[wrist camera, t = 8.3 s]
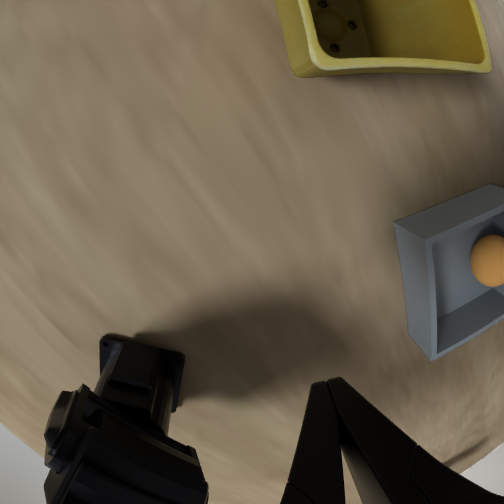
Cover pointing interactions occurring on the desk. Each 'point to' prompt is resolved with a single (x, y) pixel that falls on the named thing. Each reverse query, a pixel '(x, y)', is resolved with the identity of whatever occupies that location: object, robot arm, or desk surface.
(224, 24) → the desk surface
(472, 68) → the flower pot
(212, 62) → the desk surface
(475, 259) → the ball
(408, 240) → the shallow blue-grey tray
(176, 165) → the desk surface
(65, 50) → the desk surface
